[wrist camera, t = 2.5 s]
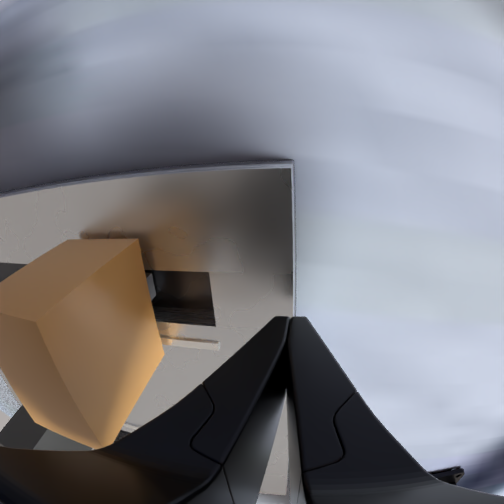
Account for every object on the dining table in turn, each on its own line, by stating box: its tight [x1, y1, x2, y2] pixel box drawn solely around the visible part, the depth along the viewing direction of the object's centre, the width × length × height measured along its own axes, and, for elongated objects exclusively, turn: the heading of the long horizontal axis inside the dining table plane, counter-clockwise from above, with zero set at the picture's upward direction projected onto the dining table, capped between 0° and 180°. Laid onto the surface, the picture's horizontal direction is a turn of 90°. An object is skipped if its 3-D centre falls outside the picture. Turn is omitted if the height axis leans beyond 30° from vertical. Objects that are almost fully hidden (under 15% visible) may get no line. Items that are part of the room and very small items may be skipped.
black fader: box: [0, 405, 92, 451], centre depth 14 cm, size 3×4×6 cm
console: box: [0, 160, 296, 495], centre depth 14 cm, size 20×18×2 cm
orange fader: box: [0, 239, 165, 449], centre depth 9 cm, size 3×4×6 cm
